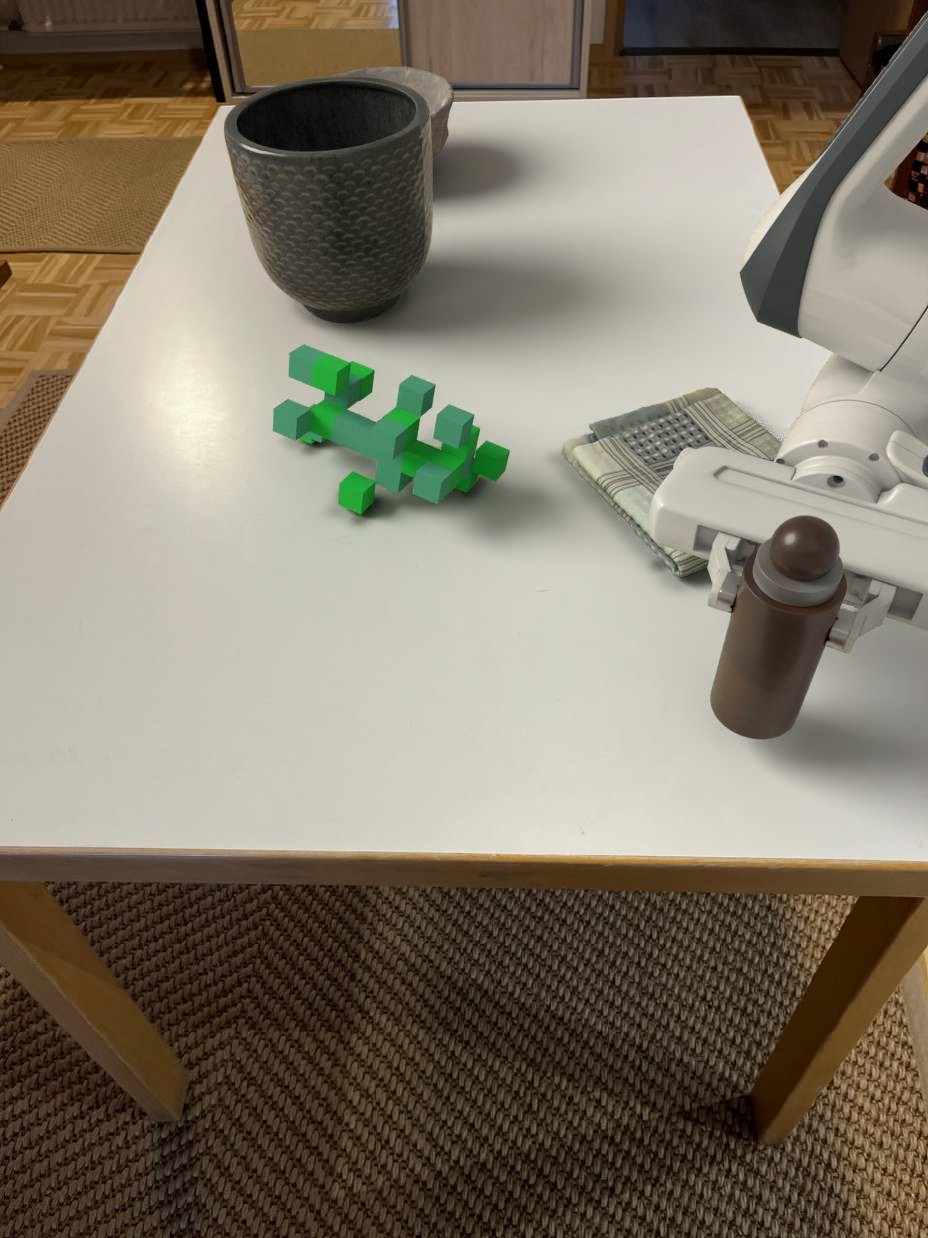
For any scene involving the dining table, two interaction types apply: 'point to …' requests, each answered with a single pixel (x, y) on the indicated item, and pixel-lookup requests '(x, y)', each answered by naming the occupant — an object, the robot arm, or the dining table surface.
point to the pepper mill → (779, 628)
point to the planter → (336, 190)
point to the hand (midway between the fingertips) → (779, 623)
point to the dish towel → (661, 455)
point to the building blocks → (386, 432)
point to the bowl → (427, 86)
